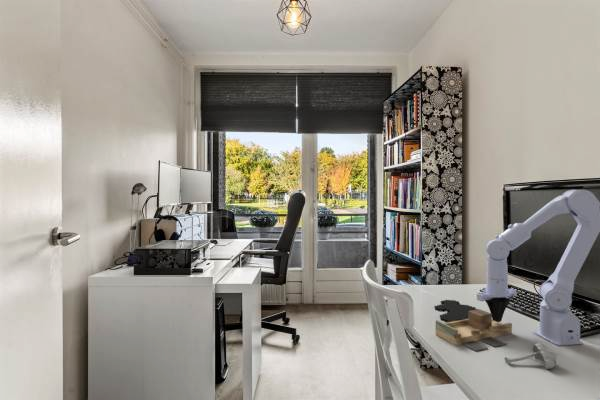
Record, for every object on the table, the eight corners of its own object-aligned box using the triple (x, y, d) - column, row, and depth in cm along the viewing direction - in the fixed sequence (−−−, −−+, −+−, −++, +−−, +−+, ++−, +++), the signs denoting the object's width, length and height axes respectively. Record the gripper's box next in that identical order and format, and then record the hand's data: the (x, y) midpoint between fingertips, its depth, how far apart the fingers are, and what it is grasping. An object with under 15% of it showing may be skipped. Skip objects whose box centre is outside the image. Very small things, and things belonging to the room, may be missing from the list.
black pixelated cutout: (497, 335, 106) (476, 304, 134) (497, 332, 106) (476, 301, 134) (440, 330, 110) (432, 301, 139) (440, 327, 110) (432, 298, 139)
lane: (489, 323, 114) (489, 310, 114) (527, 339, 102) (528, 325, 102) (435, 334, 106) (435, 320, 106) (470, 353, 94) (470, 337, 94)
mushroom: (499, 344, 91) (546, 338, 90) (499, 359, 92) (546, 353, 91) (514, 363, 84) (566, 357, 83) (514, 379, 85) (565, 373, 85)
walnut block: (479, 323, 110) (479, 309, 110) (491, 328, 106) (491, 313, 106) (468, 325, 109) (468, 310, 108) (480, 330, 104) (480, 315, 104)
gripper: (502, 273, 116) (502, 313, 116) (469, 277, 111) (468, 319, 111) (522, 278, 109) (522, 320, 109) (487, 282, 104) (487, 327, 104)
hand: (496, 320), depth 110 cm, fingers closed
